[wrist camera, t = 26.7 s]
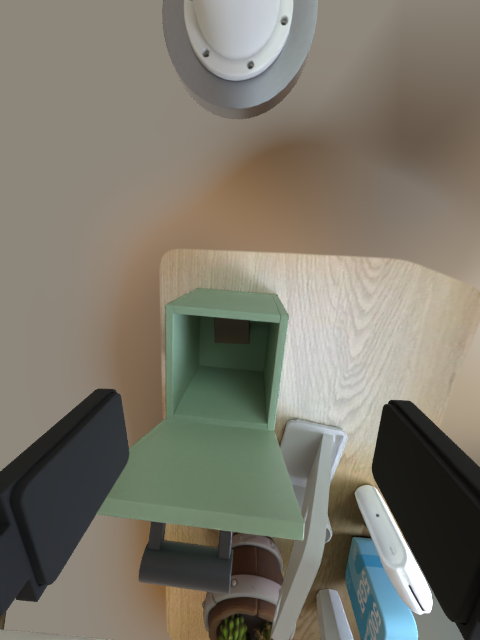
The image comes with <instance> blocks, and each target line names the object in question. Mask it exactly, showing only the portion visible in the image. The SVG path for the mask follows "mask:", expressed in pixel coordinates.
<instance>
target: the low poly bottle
mask: <svg viewBox="0 0 480 640" xmlns="http://www.w3.org/2000/svg"><path fill="white" fill-rule="evenodd" d="M316 599H317V611H318V622H319V634H320V640H354V639H353V636H352V633H351V630H350V627H349V624H348V621H347V618H346V615H345V612H344V609H343V606H342V603H341V600H340V597H339V595H338V592H337V591H335V590H332V589H322V590H319V592H318V593H317V595H316Z"/></svg>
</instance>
